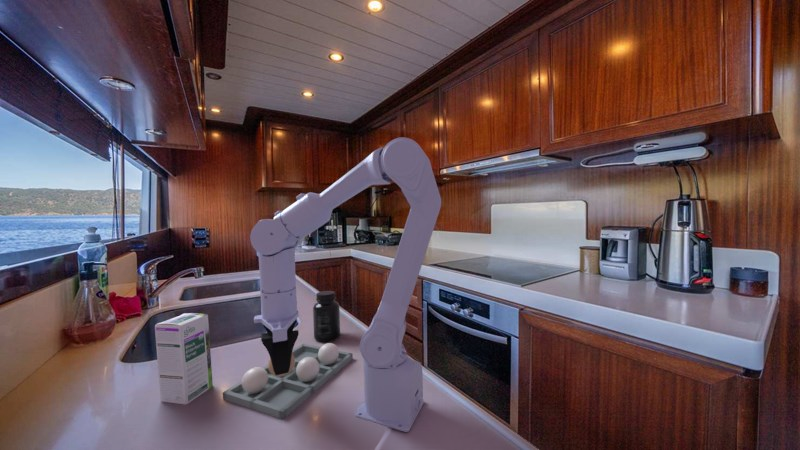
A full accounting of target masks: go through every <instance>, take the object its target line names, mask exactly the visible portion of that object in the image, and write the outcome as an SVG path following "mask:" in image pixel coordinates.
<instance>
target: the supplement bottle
mask: <svg viewBox="0 0 800 450" xmlns="http://www.w3.org/2000/svg"><path fill="white" fill-rule="evenodd" d="M315 297H316V298H315V299H316V303H315V304H314V305H313V307H312V315H313V316H312V317H313V321H312V323H313V339H314V340H315V341H316V342H319V343H331V342H333V341H336V340H338V338H340V336H341V315H340V314H341V313H340V312H341V311H340V304H339V302H338V301H336V292H335V291H334V290H324V291H323V290H322V291H319V292H317V293H316V295H315Z"/></svg>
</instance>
